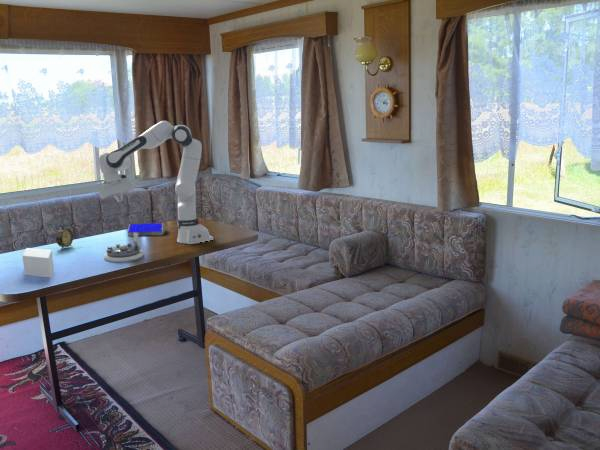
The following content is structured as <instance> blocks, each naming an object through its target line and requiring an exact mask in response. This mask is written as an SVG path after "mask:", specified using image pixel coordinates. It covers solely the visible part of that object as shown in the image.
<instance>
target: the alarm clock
mask: <svg viewBox="0 0 600 450" xmlns="http://www.w3.org/2000/svg"><path fill="white" fill-rule="evenodd" d="M62 223H63V226H62V225H60V227H61V228H60V229H59V230H57V232H56V233H55V234H56V235H55V241H56V244H57V245H58V246H59V247H61V251H63V250H64V248H69V247H72V244H73V240H74V236H73V232H72V230H71V229H69V228H64V227H65V222H64V221H61V223H60V224H62Z"/></svg>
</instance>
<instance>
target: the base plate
mask: <svg viewBox="0 0 600 450" xmlns="http://www.w3.org/2000/svg"><path fill="white" fill-rule="evenodd" d="M126 249H127V244H120V246H119V250H126ZM103 257H104V260H105V261H106V262H108V263H109V262H111V263H125V262H127V263H128V262H131V261H136V260H138V259H142V258H143V257H144V251H143V250H142V249H140V253H139V254H136V255H133V256H128V257H110V256H108V255H107V252H105V253H104V255H103Z"/></svg>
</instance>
